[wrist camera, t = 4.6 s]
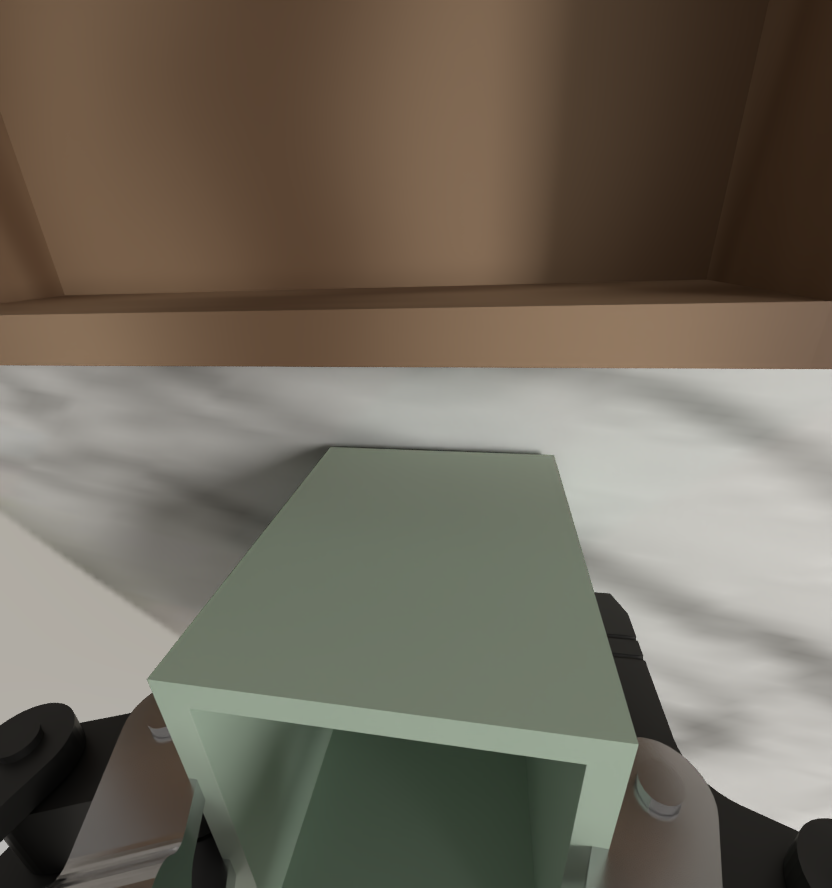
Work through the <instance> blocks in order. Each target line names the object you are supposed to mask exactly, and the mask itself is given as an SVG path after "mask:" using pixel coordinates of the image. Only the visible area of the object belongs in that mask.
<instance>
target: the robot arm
mask: <svg viewBox="0 0 832 888" xmlns="http://www.w3.org/2000/svg"><path fill="white" fill-rule="evenodd" d="M594 594H595V597H596V601H597V604H598V607H599V611H600V614H601V618H602V621H603V624H604V628H605V631H606V635H607V638H608V641H609V645H610V648H611V652H612V655H613V659H614V662H615V665H616V669H617V672H618V676H619V679H620V682H621V686H622V689H623V693H624V696H625V699H626V703H627V706H628V710H629V713H630V717H631V720H632V723H633V727H634V730H635V734H636V737H637V740H638V744H639V745H638V749H637V752H636V756H635V759H634V763H633V766H632V770H631V773H630V777H629V780H628V784H627V788H626V791H625V795H624V798H623V802H622V805H621V809H620V812H619V816H618V819H617V823H616V826H615V830H614V833H613V837H612V840H611V844H610V848H609V849H606V848H600V847H594V846H592V849H591V853H590V857H589V861H588V865H587V869H586V876H585V882H584V888H832V819H829V818H824V819H815V820H811V821H809V822H808V823H806V824H805V825H804V826H803V827H802V828H801V830H800V831H799V832H798V831H796V830H794V829H792V828H790V827H787V826H785V825H783V824H781V823H779V822H776V821H774V820H772V819H770V818H768V817H765V816H763V815H761V814H759V813H756V812H754V811H752V810H750V809H748V808H745V807H743V806H741V805H739V804H737V803H735V802H733V801H731V800H730V799H728V798H726V797H725V796H723V795H722V794H720V793H719V792H717V791H716V790H715V789H713V788H712V787H711V786H710V785H708V784H707V783H706V781H705V780H704V778H703V777H702V776H701V774H700V773H699V772H698V771H697V769H696V768H695V767H694V766H693V765H692V764H691V763H690V762H689V761H688V760H687V759H686V758H684V757H683V756H682V754H681V753H680V751H679V749H678V748H677V745H676V743H675V741H674V739H673V736H672V733H671V730H670V728H669V725H668V722H667V719H666V717H665V714H664V711H663V709H662V706H661V703H660V700H659V698H658V695H657V692H656V690H655V687H654V684H653V681H652V679H651V676H650V673H649V670H648V668H647V665H646V662H645V661H644V660H643V654H642V651H641V649H640V646H639V643H638V641H636V635H635V632H634V630H633V627H632V624H631V621H630V619H629V616H628V613H627V612H626V611H625V610H624V609H623V608H622V607H621V605H620V604H619V603H618V602H617V601H616V600H615V599H614V598H613V596H612V595H611V594H608V593H596V592H594ZM204 805H205V798H204V795H203V793H202V790H201V788H200V785H199V783H198V780H197V779H191V778H188V776H187V773H186V771H185V769H184V766H183V764H182V762H181V759H180V757H179V754H178V752H177V750H176V747H175V745H174V743H173V740H172V738H171V735H170V733H169V731H168V728H167V726H166V724H165V721H164V719H163V717H162V714H161V712H160V709H159V707H158V705H157V702H156V700H155V698H154V695H153V693H151V694H150V695H149V696H148V697H146V698H145V699H144V700H143V701H142V702H141V703H140V704H139V705H137V707H136V708H135V709H134V710H133V711H132V712H131V713H129V714H124V715H119V716H114V717H108V718H103V719H98V720H93V721H88V722H82V723H79V721H78V719H77V717H76V716H75V714H74V712H73V710H72V709H71V708H70V707H69V706H67V705H65V704H62V703H48V704H43V705H39V706H36V707H33V708H31V709H28V710H26V711H23V712H21V713H20V714H18V715H16V716H14V717H13V718H11V719H9V720H7V721H6V722H4V723H3V724H2V725H0V842H1V841H2V840H3V839H4V840H5V842H6V843H7V844H8V845H9V847H8V848H7V850H6V851H5V852H4V853H3V854H2V855H1V856H0V888H235V882H236V873H235V871H234V868H233V866H232V863H231V861H230V860H229V859H224V858H222V856H221V854H220V852H219V849H218V847H217V844H216V842H215V840H214V837H213V835H212V833H211V830H210V828H209V825H208V823H207V821H206V818H205V816H204V814H203V810H204Z"/></svg>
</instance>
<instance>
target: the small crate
mask: <svg viewBox="0 0 832 888" xmlns="http://www.w3.org/2000/svg"><path fill="white" fill-rule="evenodd" d="M147 681H148V683H149V686H150V688H151V690H152V693H153V695H154V698H155V700H156V702H157V705H158V707H159V709H160V712H161V714H162V717H163V719H164V721H165V724H166V726H167V728H168V731H169V733H170V735H171V738H172V740H173V743H174V745H175V747H176V750H177V752H178V754H179V757H180V759H181V762H182V764H183V766H184V769H185V771H186V773H187V776H188V778H191V779H197V780H198V783H199V785H200V788H201V790H202V793H203V795H204V798H205V805H204V810H203V814H204V816H205V818H206V821H207V823H208V825H209V828H210V830H211V833H212V835H213V837H214V840H215V842H216V844H217V847H218V849H219V852H220V854H221V856H222V858H224V859H229V860H230V861H231V863H232V866H233V868H234V871H235V873H236V882H235V888H584V882H585V876H586V869H587V865H588V861H589V857H590V853H591V849H592V846H594V847H600V848H606V849H609V848H610V844H611V840H612V837H613V833H614V830H615V826H616V823H617V819H618V816H619V812H620V809H621V805H622V802H623V798H624V795H625V791H626V788H627V784H628V780H629V777H630V773H631V770H632V766H633V763H634V759H635V756H636V752H637V749H638V745H639V744H638V740H637V737H636V734H635V730H634V727H633V723H632V720H631V717H630V713H629V710H628V706H627V703H626V699H625V696H624V693H623V689H622V686H621V682H620V679H619V676H618V672H617V669H616V665H615V662H614V659H613V655H612V652H611V648H610V645H609V641H608V638H607V635H606V631H605V628H604V624H603V621H602V618H601V614H600V611H599V607H598V604H597V601H596V597H595V594H594V590H593V587H592V583H591V580H590V577H589V573H588V570H587V566H586V563H585V560H584V556H583V553H582V549H581V546H580V543H579V539H578V536H577V532H576V529H575V525H574V522H573V519H572V515H571V512H570V508H569V505H568V502H567V498H566V495H565V491H564V488H563V485H562V481H561V478H560V474H559V471H558V467H557V464H556V461H555V457H554V455H535V454H507V453H480V452H452V451H425V450H397V449H369V448H342V447H330V448H329V450H328V451H327V452H326V453H325V455H324V456H323V457H322V458H321V460H320V461H319V462H318V463H317V465H316V466H315V467H314V469H313V470H312V471H311V472H310V474H309V475H308V476H307V477H306V479H305V480H304V481H303V482H302V484H301V485H300V486H299V488H298V489H297V490H296V491H295V493H294V494H293V495H292V496H291V498H290V499H289V500H288V501H287V503H286V504H285V505H284V506H283V508H282V509H281V510H280V512H279V513H278V514H277V515H276V517H275V518H274V519H273V520H272V522H271V523H270V524H269V525H268V527H267V528H266V529H265V531H264V532H263V533H262V534H261V536H260V537H259V538H258V539H257V541H256V542H255V543H254V544H253V546H252V547H251V548H250V550H249V551H248V552H247V553H246V555H245V556H244V557H243V558H242V560H241V561H240V562H239V563H238V565H237V566H236V567H235V568H234V570H233V571H232V572H231V574H230V575H229V576H228V577H227V579H226V580H225V581H224V582H223V584H222V585H221V586H220V587H219V589H218V590H217V591H216V593H215V594H214V595H213V596H212V598H211V599H210V600H209V601H208V603H207V604H206V605H205V606H204V608H203V609H202V610H201V612H200V613H199V614H198V615H197V617H196V618H195V619H194V620H193V622H192V623H191V624H190V625H189V627H188V628H187V629H186V630H185V632H184V633H183V634H182V636H181V637H180V638H179V639H178V641H177V642H176V643H175V645H174V646H173V647H172V648H171V649H170V651H169V652H168V654H167V655H166V656H165V657H164V658H163V660H162V661H161V662H160V663H159V665H158V666H157V667H156V668H155V670H154V671H153V672H152V674H151V675H150V676H149V677H148V679H147Z"/></svg>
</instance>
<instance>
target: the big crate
mask: <svg viewBox="0 0 832 888" xmlns="http://www.w3.org/2000/svg"><path fill="white" fill-rule="evenodd" d="M0 365H64V366H282V367H500V368H718V369H832V0H0Z"/></svg>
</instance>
